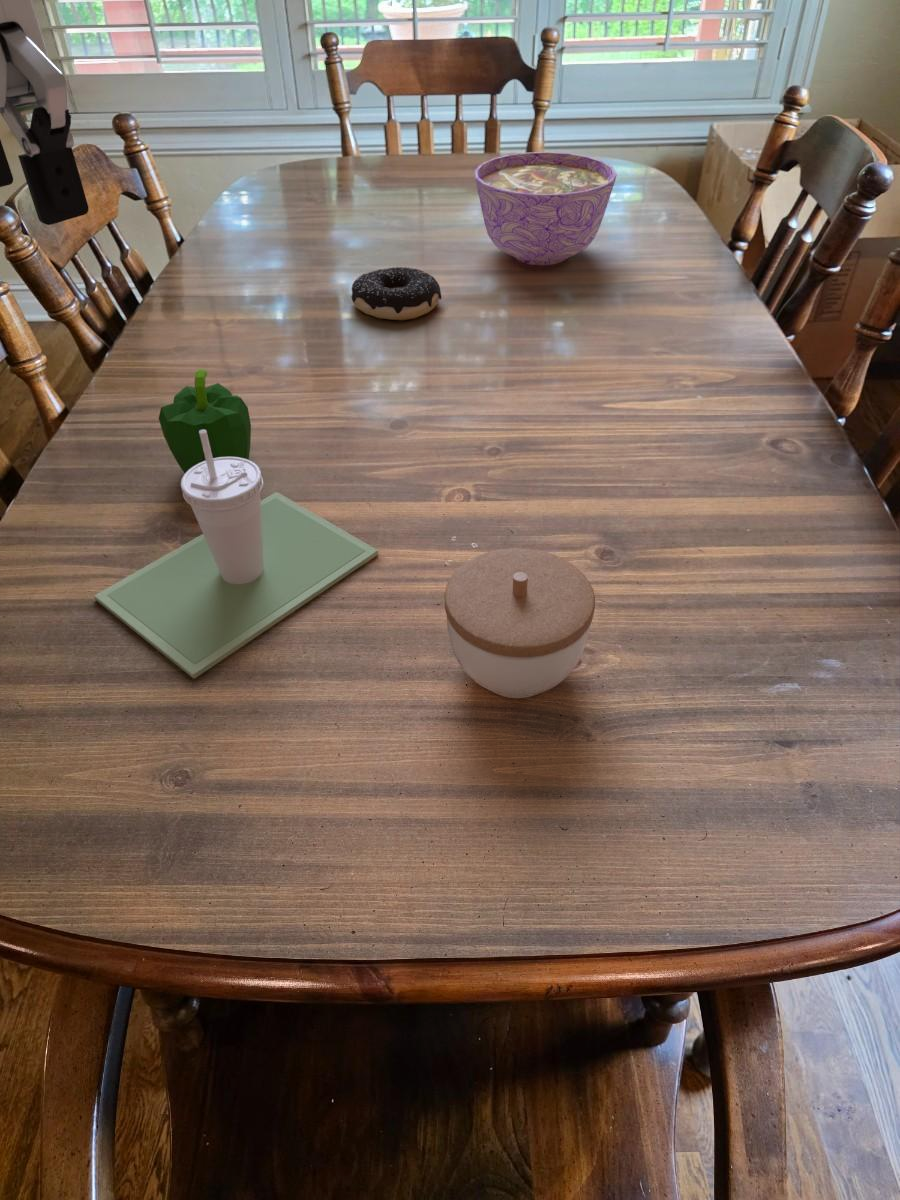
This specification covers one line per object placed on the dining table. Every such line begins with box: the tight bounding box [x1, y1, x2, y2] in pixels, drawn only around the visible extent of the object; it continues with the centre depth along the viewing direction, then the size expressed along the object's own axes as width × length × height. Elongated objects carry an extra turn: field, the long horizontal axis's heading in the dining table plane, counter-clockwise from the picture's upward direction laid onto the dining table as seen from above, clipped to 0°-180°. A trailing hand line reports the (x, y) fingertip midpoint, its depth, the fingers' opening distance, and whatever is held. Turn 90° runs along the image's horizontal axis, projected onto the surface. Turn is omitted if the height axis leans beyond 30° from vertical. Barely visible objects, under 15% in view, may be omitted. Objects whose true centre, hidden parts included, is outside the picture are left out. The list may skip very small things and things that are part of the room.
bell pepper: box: [158, 368, 252, 474], centre depth 85 cm, size 8×8×10 cm
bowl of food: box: [474, 151, 618, 266], centre depth 126 cm, size 20×20×12 cm
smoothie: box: [180, 429, 264, 584], centre depth 71 cm, size 6×6×14 cm
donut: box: [350, 266, 442, 321], centre depth 116 cm, size 11×12×4 cm
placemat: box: [93, 491, 379, 680], centre depth 75 cm, size 20×14×1 cm
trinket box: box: [444, 547, 596, 699], centre depth 64 cm, size 11×11×9 cm
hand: (26, 202), depth 58 cm, fingers open, 9 cm apart
